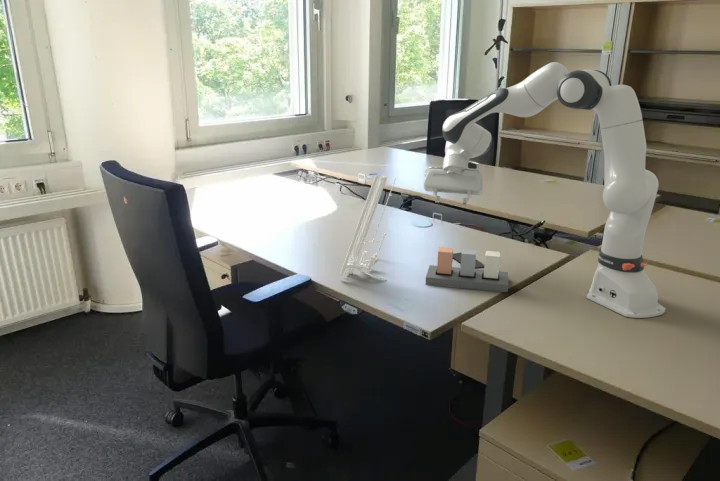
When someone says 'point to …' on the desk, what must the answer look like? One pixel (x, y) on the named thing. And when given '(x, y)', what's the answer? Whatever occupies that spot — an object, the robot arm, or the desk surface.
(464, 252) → the key slate
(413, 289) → the desk surface
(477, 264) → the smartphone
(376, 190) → the white display easel
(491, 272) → the key ivory
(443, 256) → the key terracotta
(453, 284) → the keypad base
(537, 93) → the robot arm
